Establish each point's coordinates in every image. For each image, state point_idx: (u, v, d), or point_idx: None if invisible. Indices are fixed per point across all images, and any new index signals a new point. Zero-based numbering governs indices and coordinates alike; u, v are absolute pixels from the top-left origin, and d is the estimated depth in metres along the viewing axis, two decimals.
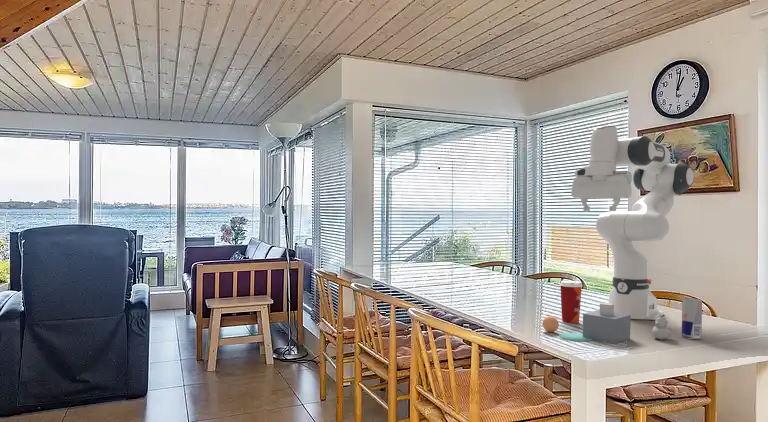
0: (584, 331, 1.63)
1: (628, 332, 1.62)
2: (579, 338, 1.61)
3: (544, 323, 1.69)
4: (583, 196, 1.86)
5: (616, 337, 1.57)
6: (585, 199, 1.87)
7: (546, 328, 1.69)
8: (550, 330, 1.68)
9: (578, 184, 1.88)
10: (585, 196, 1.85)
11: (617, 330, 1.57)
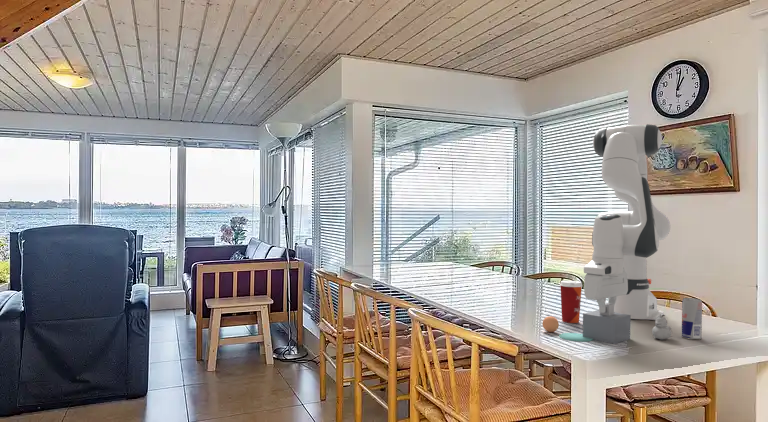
0: (584, 331, 1.63)
1: (628, 332, 1.62)
2: (579, 338, 1.61)
3: (544, 323, 1.69)
4: (603, 297, 1.58)
5: (616, 337, 1.57)
6: None
7: (546, 328, 1.69)
8: (550, 330, 1.68)
9: (600, 283, 1.57)
10: (604, 297, 1.59)
11: (617, 330, 1.57)
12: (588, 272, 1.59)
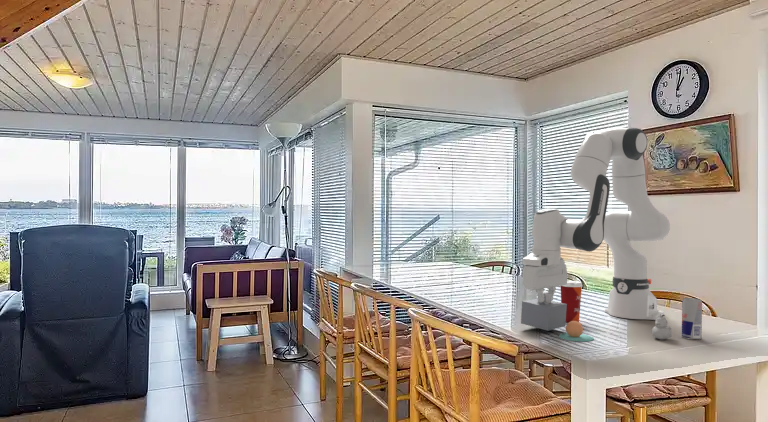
0: (522, 318, 1.73)
1: (563, 320, 1.71)
2: (579, 338, 1.61)
3: (571, 332, 1.62)
4: (540, 287, 1.67)
5: (550, 324, 1.66)
6: None
7: (571, 326, 1.62)
8: (569, 323, 1.63)
9: (537, 274, 1.65)
10: (542, 287, 1.67)
11: (551, 318, 1.66)
12: (526, 263, 1.67)
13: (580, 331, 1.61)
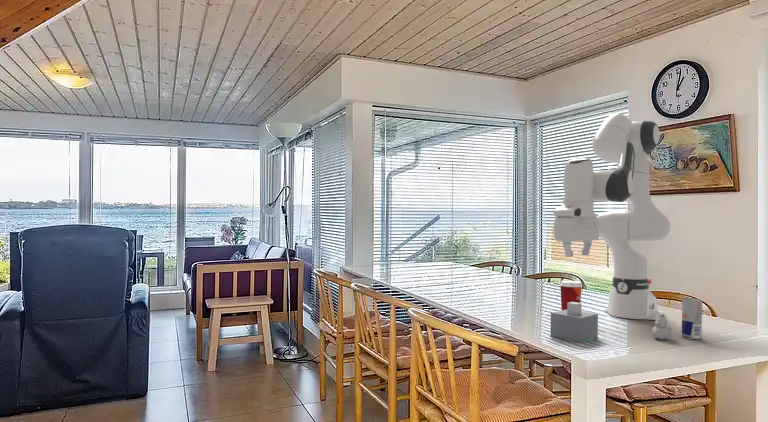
0: (552, 330, 1.64)
1: (595, 331, 1.62)
2: None
3: None
4: (573, 240, 1.58)
5: (582, 336, 1.58)
6: None
7: None
8: None
9: (569, 225, 1.57)
10: (574, 240, 1.59)
11: (583, 329, 1.58)
12: (558, 215, 1.59)
13: None
